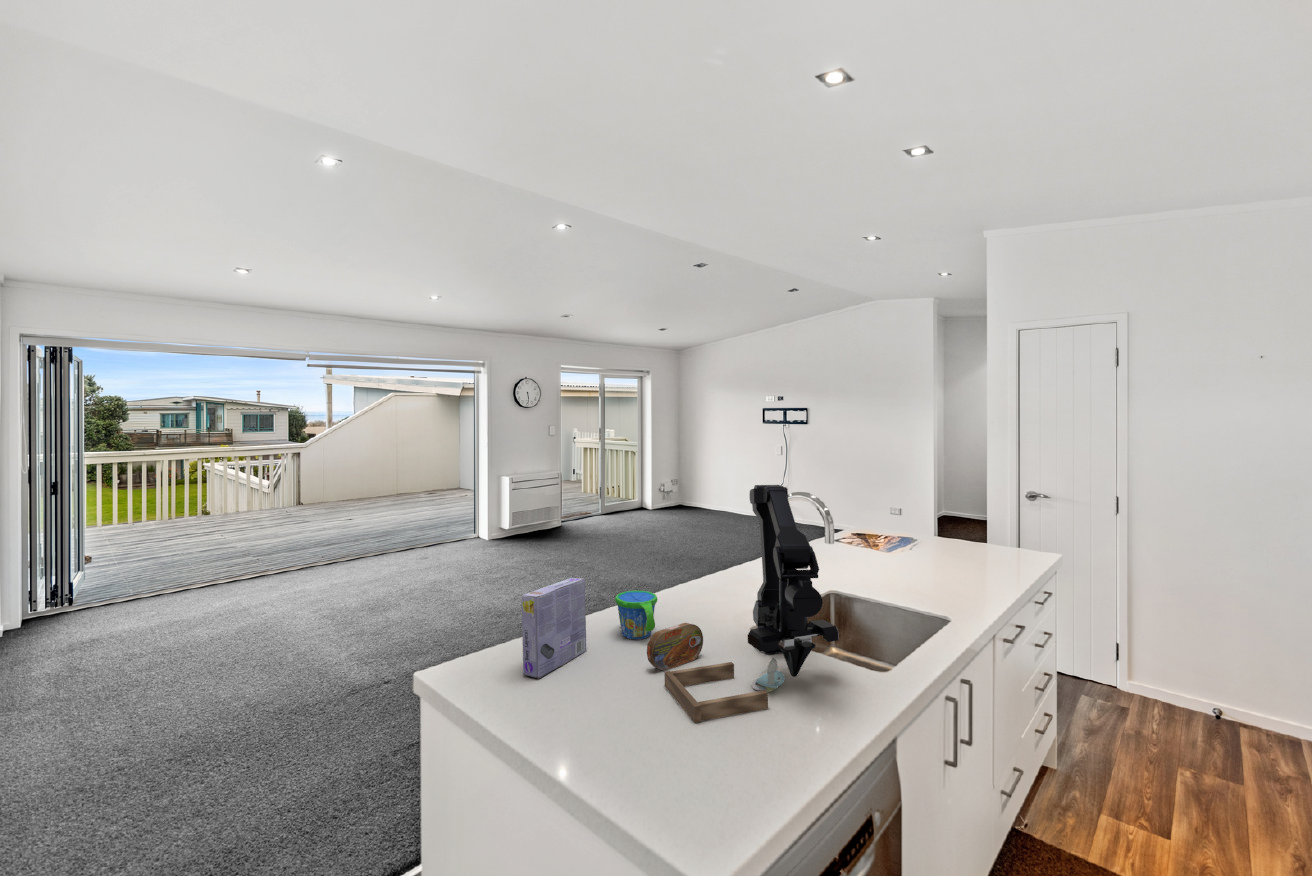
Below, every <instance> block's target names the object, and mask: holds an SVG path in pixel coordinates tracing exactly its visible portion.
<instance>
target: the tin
mask: <svg viewBox="0 0 1312 876" xmlns="http://www.w3.org/2000/svg"><path fill="white" fill-rule="evenodd" d="M703 645H704V636H703V632H702V629H700V627H699V626H698V625H697V624H693V623H688V622H683V623H680V624H675V625H673V626H670V627H666V628H663V629H660V630H657V631H656V632H654V633H653V634H652V635H651V637H650V638H649V640H648V642H647V645H646V657H647V660H648V662H649V664H650V665H652V666H653V667H655V668H656V669H658V670H661V671H670V670H671V669H674V668H677V667H679V666H682V665H685V664H688V663H691V662H693V661H695V660H696V659H697V658H698V657H699V655H700V654H701V652H702V649H703Z"/></svg>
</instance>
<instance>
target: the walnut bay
mask: <svg viewBox="0 0 1312 876" xmlns="http://www.w3.org/2000/svg"><path fill="white" fill-rule="evenodd" d="M663 674H664V688H666V690H667V691H668V692H669V693H670V695H671V696H672V697H673V699H675V701H676V702H677V703H678V705H679V706H680V707H681V708H682V710H684V712H685V713H686V714H687V716H689V718H690V719H691V720H692V722H693V723H694V724H698V723H701V722H703V721H709V720H715V719H719V718H726V717H732V716H737V715H740V714H741V715H743V714H745V713H746V714H747V713H751V712H757V711H763V710H767V709H769V691H765V690H763V691H759V690H756V691H753V692H747V693H742V694H735V695H729V696H724V697H720V698H719V697H718V698H713V699H708V700H703V701H697V699H695V697H694V696H693V695H692V694H691V693H690V692H689V691H688V690H687V688H686V687H687V686H693V685H694V686H695V685H700V684H706V683H712V682H719V681H724V680H730V679H735V663H733V662H732V661H729V662H724V663H723V662H722V663H715V664H711V665H701V666H696V667H691V668H684V669H677V670H672V671H671V670H665V671H664V673H663Z"/></svg>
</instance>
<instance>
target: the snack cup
mask: <svg viewBox="0 0 1312 876" xmlns="http://www.w3.org/2000/svg"><path fill="white" fill-rule="evenodd" d="M614 600H615V603H616V605H617V611H618V619H619V625H620V632H621V634H622V636H623V637H625V638H627V639H628V640H644V639H646V638H648V637H649V636H650V635H651V634H652V631H653V630H654V629H655V627H656V622H655V616H654V615H655V607H656V605H657V602H658V596H657V594H655V592H651V591H647V590H627V591H622V592H619V593H617V595H616V596H615V599H614Z"/></svg>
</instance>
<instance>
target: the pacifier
mask: <svg viewBox="0 0 1312 876" xmlns="http://www.w3.org/2000/svg"><path fill="white" fill-rule="evenodd" d="M777 669H778V662H777V660H776V658H775V657H772V658H771V659H770V660H769V663H768V665H767V669H766V672H765V673H763V674H762V675H761V676H759V677H757V678H756V679H754V680H752V681H751V685H750V686H751V688H752V689H754V690H756V691H763V690H765V691H767V692H772V691H774V690H776V689H778V688H779V686H782V685H783V684H784V682H785V675H784V673H783V672H782V671H780V670H777ZM757 684H758V685H760V686H758V685H757Z"/></svg>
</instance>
